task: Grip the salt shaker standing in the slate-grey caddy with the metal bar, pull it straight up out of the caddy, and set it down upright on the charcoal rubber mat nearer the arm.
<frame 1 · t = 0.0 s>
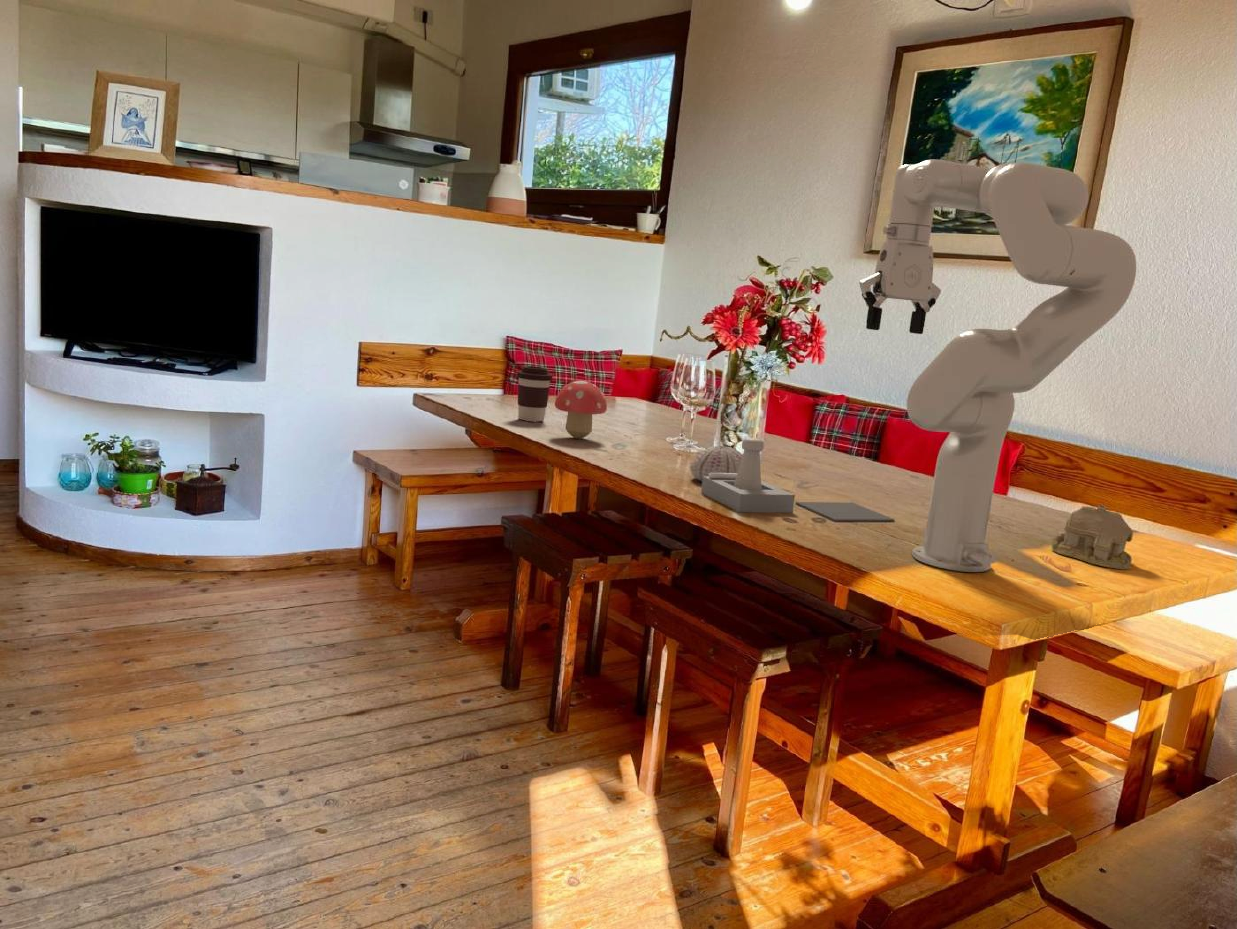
hand: (894, 331, 184), 37 cm above the table, tool pointing down, fingers open, 9 cm apart
mat: (844, 512, 200), on the table
ceramic model: (1090, 560, 183), on the table
decorative mushroom: (577, 439, 259), on the table
salt shaker: (745, 503, 201), resting in caddy
sea urchin shell: (719, 483, 220), on the table
caddy: (745, 502, 201), on the table
coffee cup: (530, 421, 283), on the table
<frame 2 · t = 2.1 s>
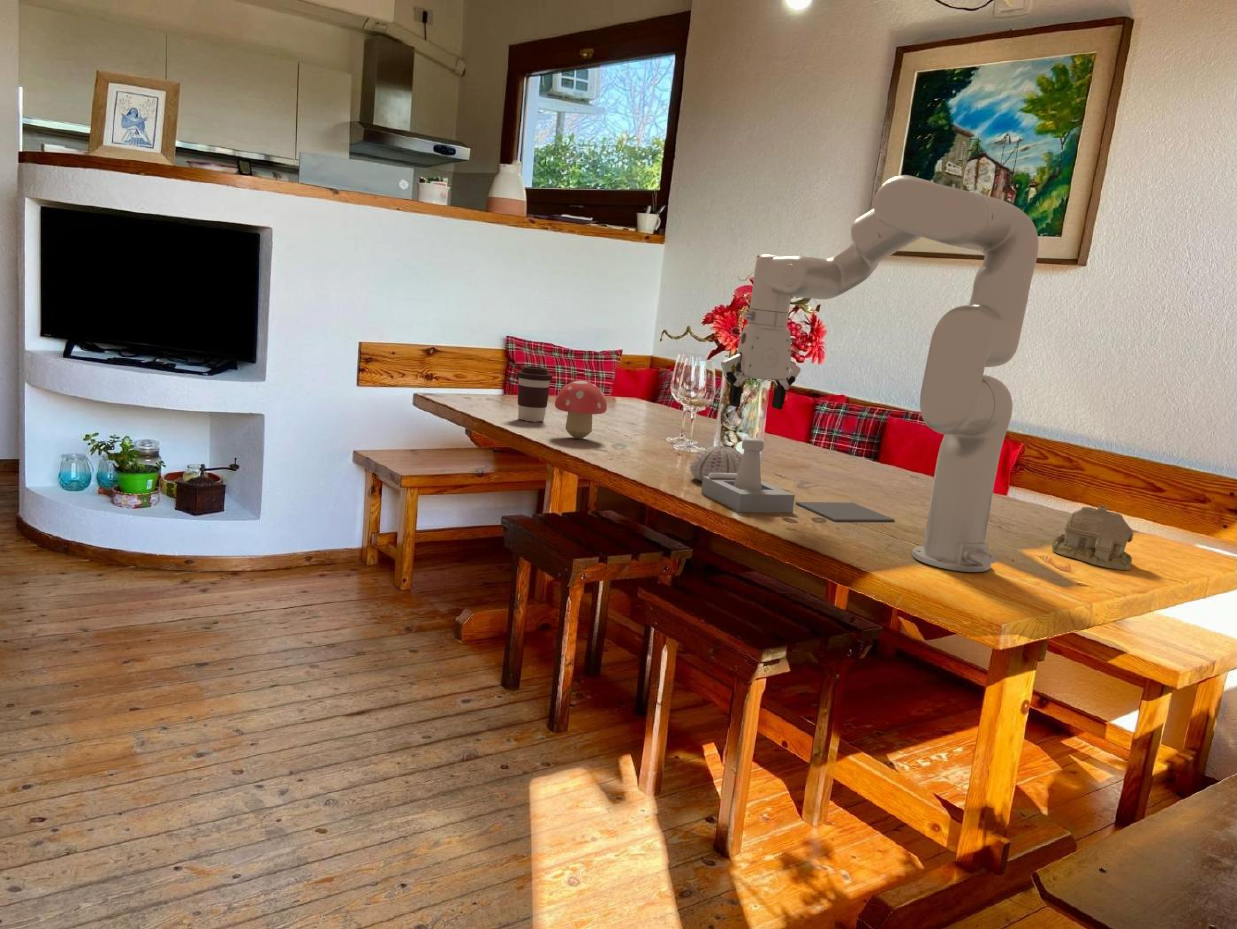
hand: (755, 407, 198), 19 cm above the table, tool pointing down, fingers open, 9 cm apart
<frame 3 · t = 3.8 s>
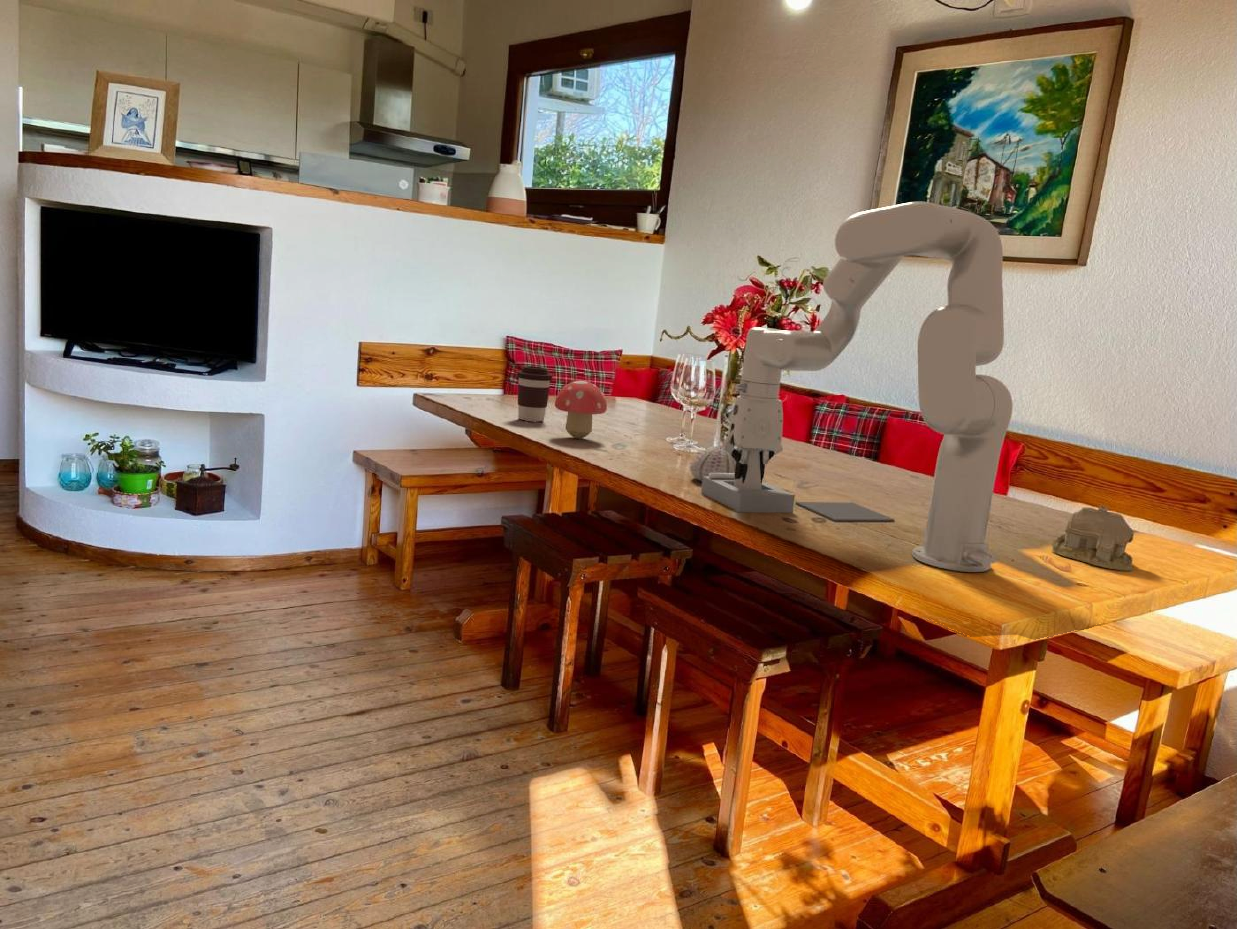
hand: (748, 481, 200), 4 cm above the table, tool pointing down, fingers closed on salt shaker, 3 cm apart
salt shaker: (745, 503, 201), resting in caddy, touching gripper
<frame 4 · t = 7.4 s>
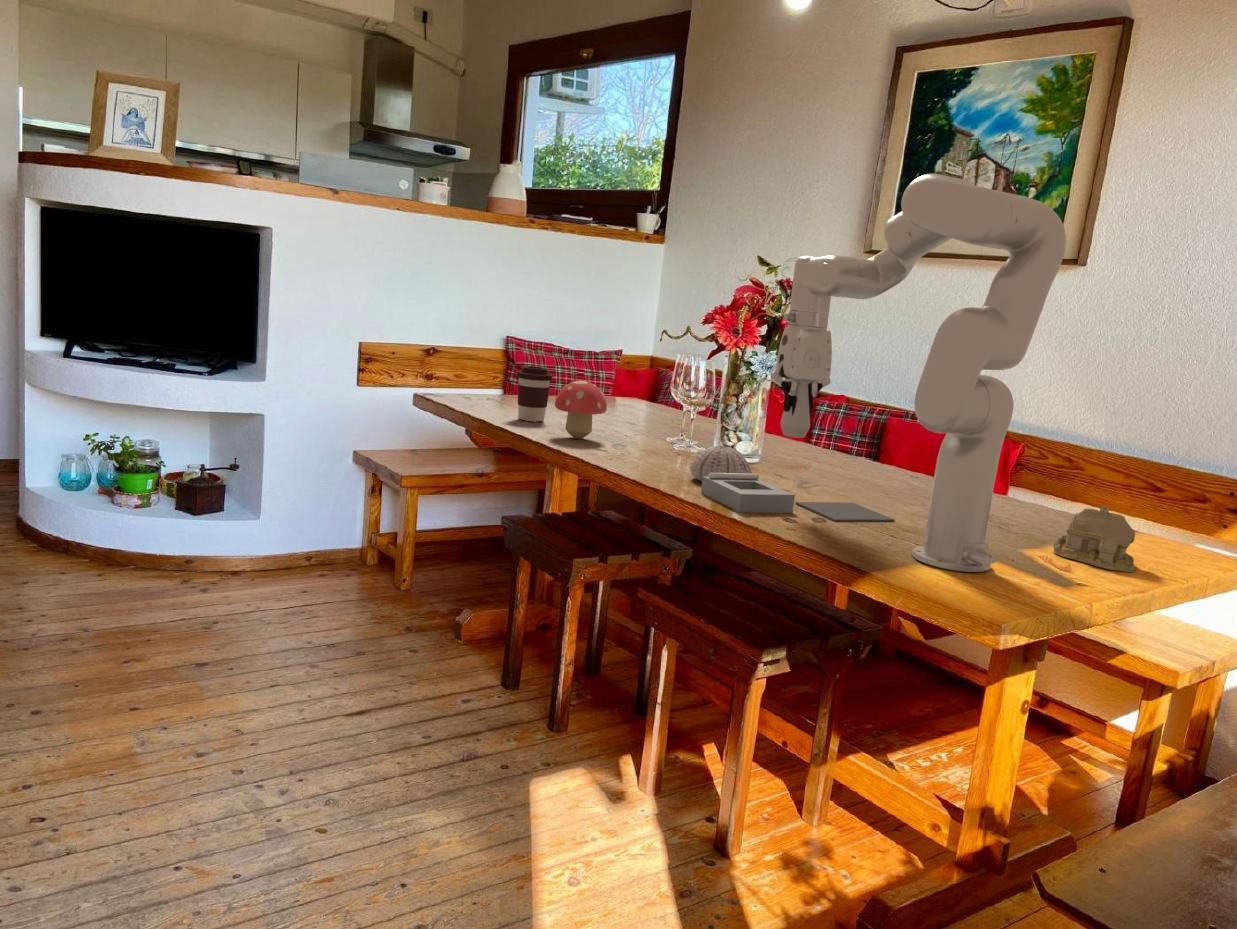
hand: (797, 414, 197), 19 cm above the table, tool pointing down, fingers closed on salt shaker, 3 cm apart
salt shaker: (793, 437, 198), point 14 cm above the table, touching gripper
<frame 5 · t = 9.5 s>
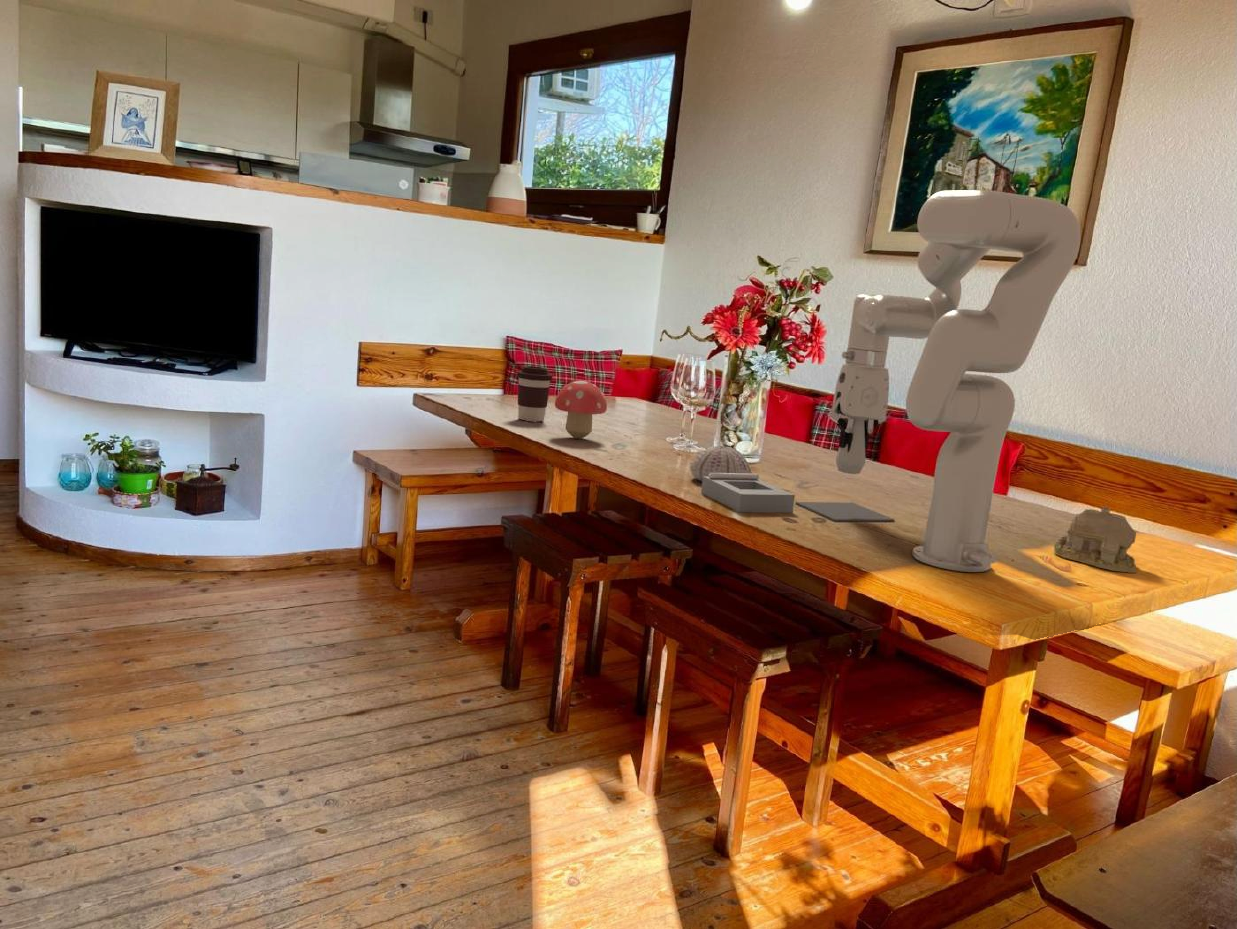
hand: (852, 451, 198), 12 cm above the table, tool pointing down, fingers closed on salt shaker, 3 cm apart
salt shaker: (848, 472, 199), point 8 cm above the table, touching gripper
when the fingers open (6 cm above the table, at t = 11.0 s): salt shaker stays where it is, resting on mat.
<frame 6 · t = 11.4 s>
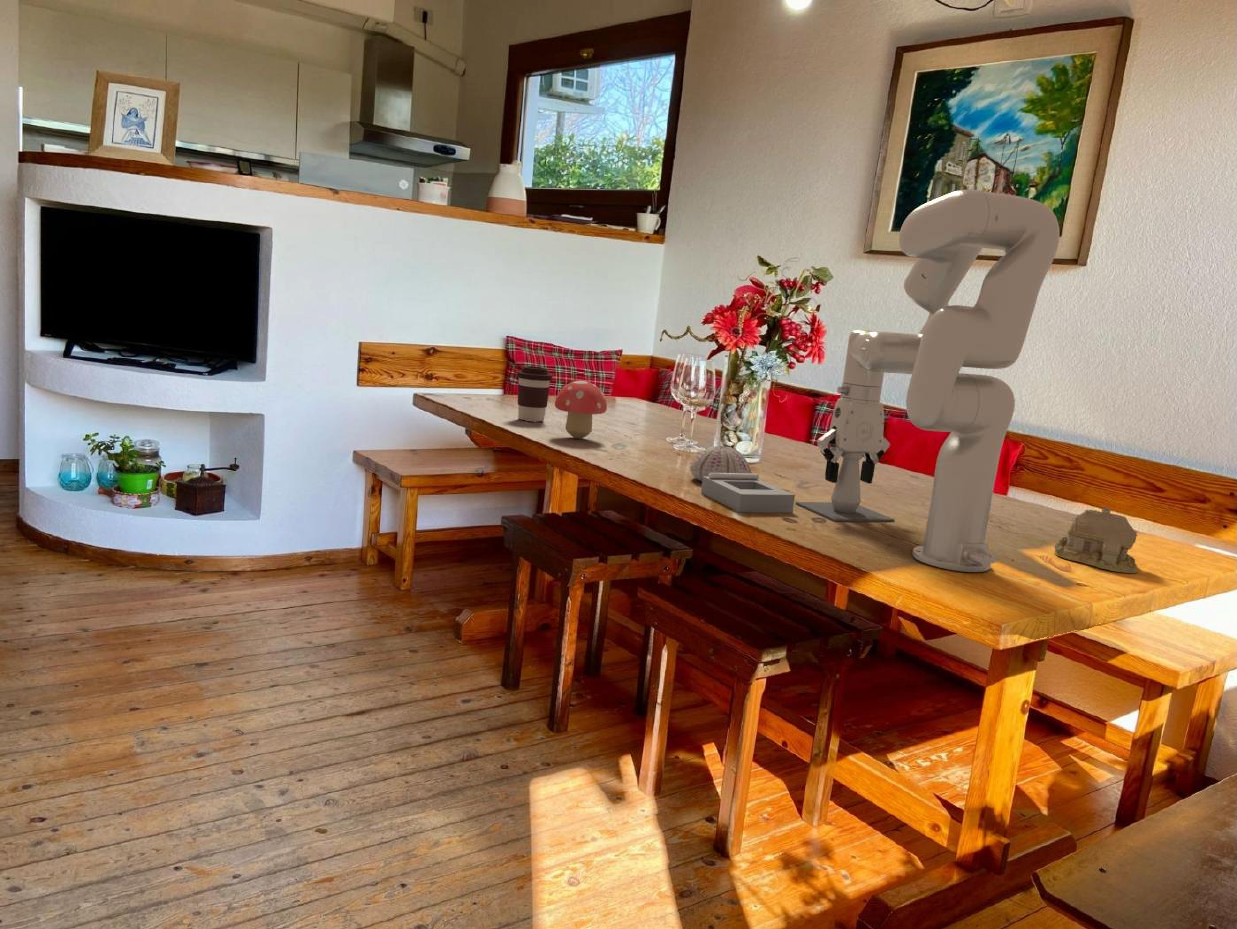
hand: (848, 481, 199), 6 cm above the table, tool pointing down, fingers open, 7 cm apart
salt shaker: (844, 511, 200), resting on mat
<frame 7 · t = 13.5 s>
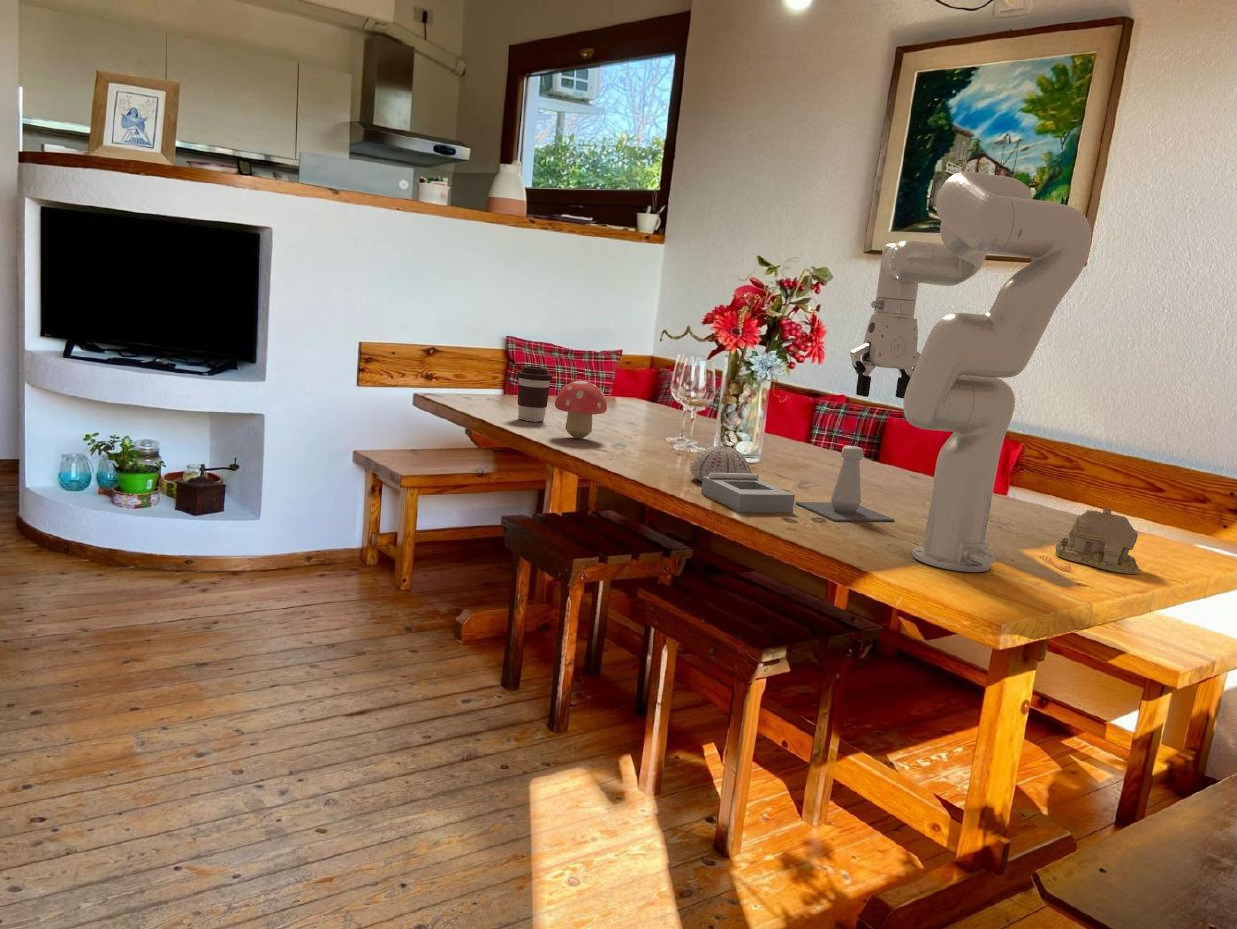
hand: (882, 397, 197), 24 cm above the table, tool pointing down, fingers open, 9 cm apart
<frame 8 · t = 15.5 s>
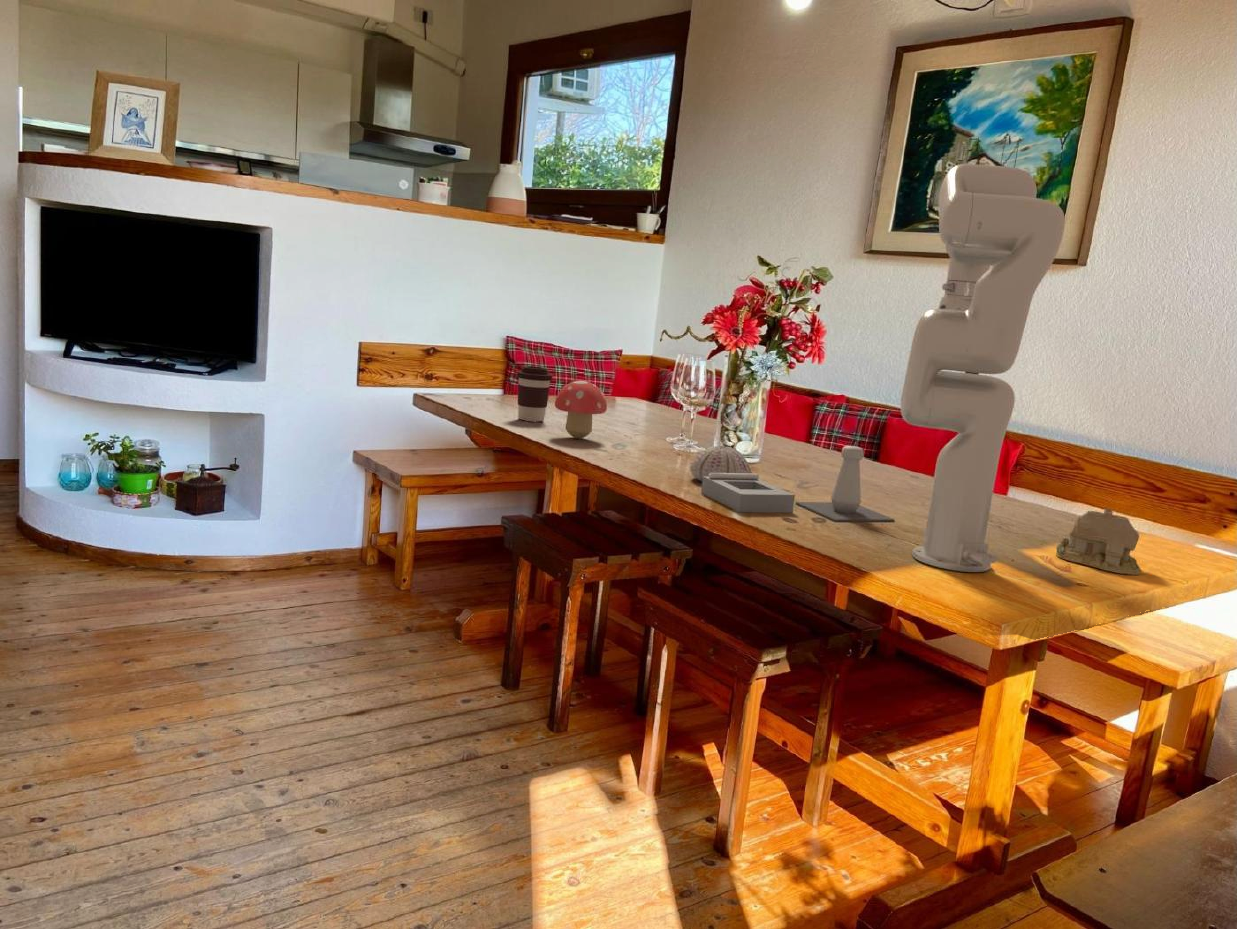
hand: (951, 379, 199), 28 cm above the table, tool pointing down, fingers open, 9 cm apart
at the end: salt shaker inside the target area on the mat (0.1 cm from its centre), point 0.2 cm above the mat's base; salt shaker tilted 0°; the gripper is holding nothing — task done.
